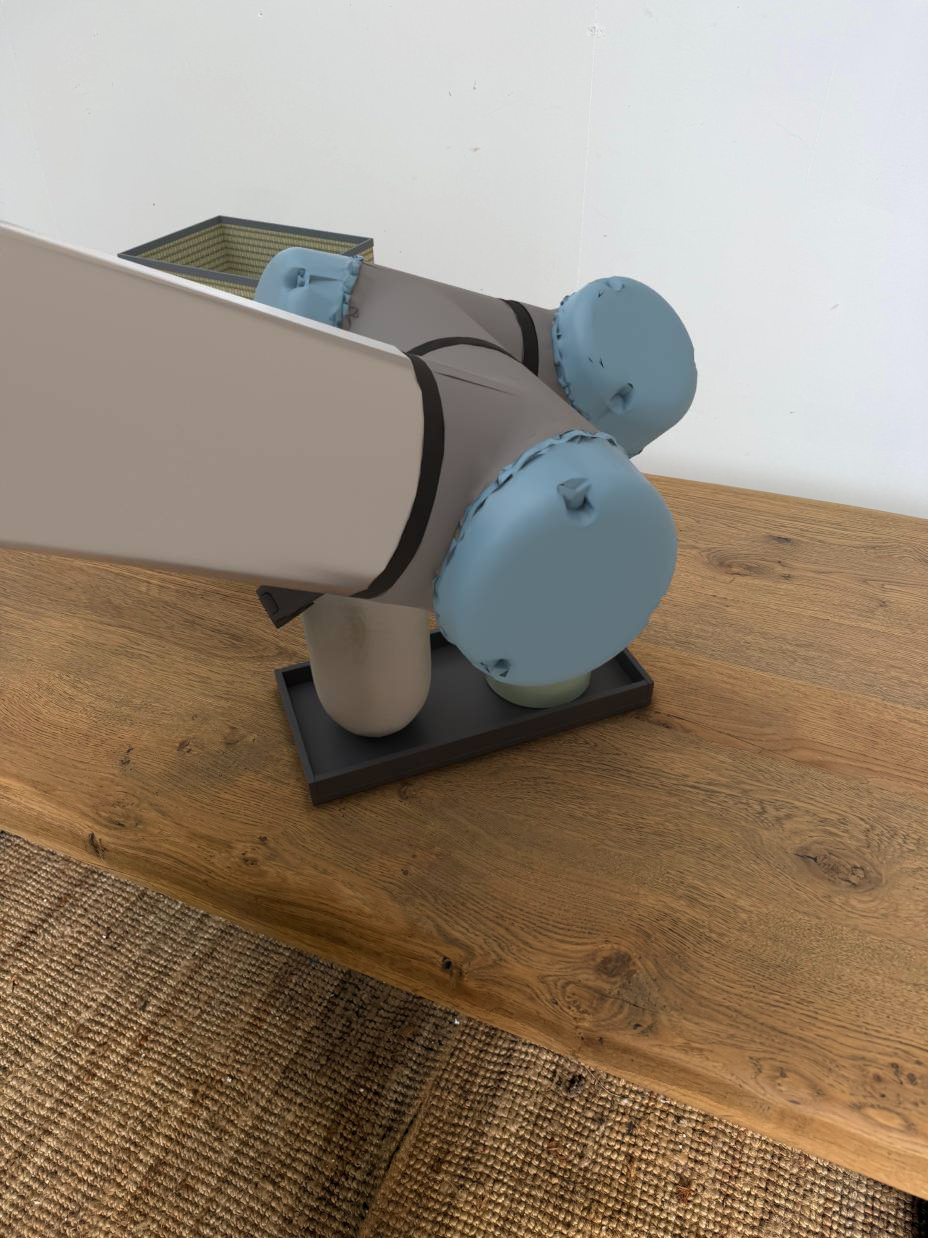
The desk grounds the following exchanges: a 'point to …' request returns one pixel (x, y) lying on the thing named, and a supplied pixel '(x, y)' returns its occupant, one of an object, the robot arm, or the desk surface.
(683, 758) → the desk surface
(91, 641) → the desk surface
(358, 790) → the tray
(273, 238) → the woven storage basket
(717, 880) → the desk surface
